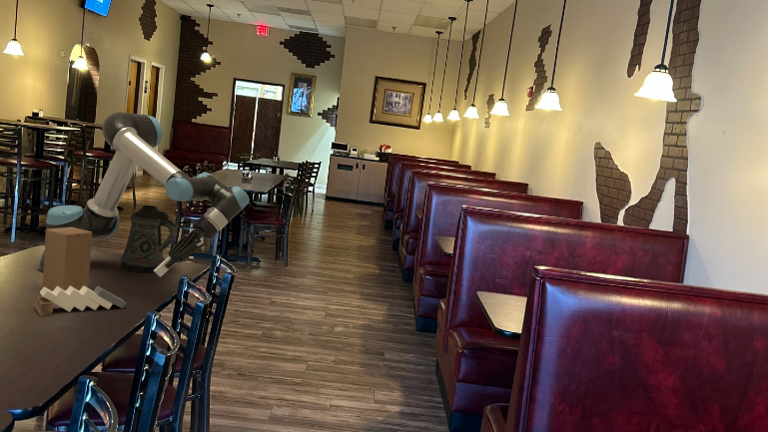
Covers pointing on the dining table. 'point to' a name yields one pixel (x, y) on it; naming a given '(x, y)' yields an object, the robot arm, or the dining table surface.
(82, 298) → the domino
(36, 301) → the end block
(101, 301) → the domino
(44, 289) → the domino
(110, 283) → the dining table surface
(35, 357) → the dining table surface
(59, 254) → the wooden block
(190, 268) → the dining table surface
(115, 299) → the domino
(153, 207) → the beer stein
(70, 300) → the domino
